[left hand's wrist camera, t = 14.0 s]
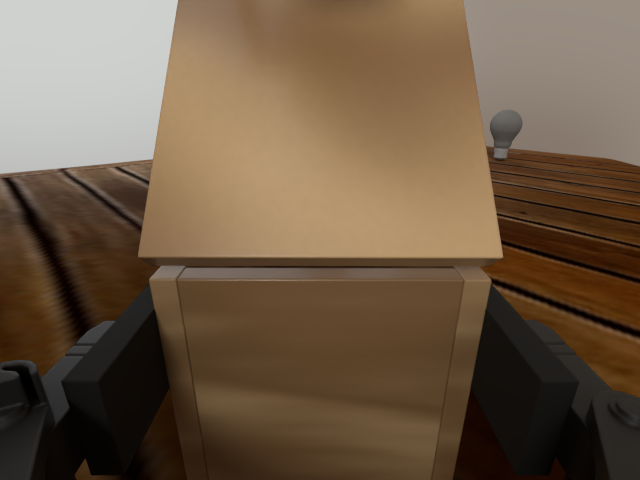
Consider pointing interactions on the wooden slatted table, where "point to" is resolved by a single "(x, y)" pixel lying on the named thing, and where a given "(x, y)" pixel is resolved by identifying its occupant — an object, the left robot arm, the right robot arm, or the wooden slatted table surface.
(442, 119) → the lid
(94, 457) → the left robot arm
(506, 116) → the light bulb
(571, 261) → the wooden slatted table surface
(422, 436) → the chest
